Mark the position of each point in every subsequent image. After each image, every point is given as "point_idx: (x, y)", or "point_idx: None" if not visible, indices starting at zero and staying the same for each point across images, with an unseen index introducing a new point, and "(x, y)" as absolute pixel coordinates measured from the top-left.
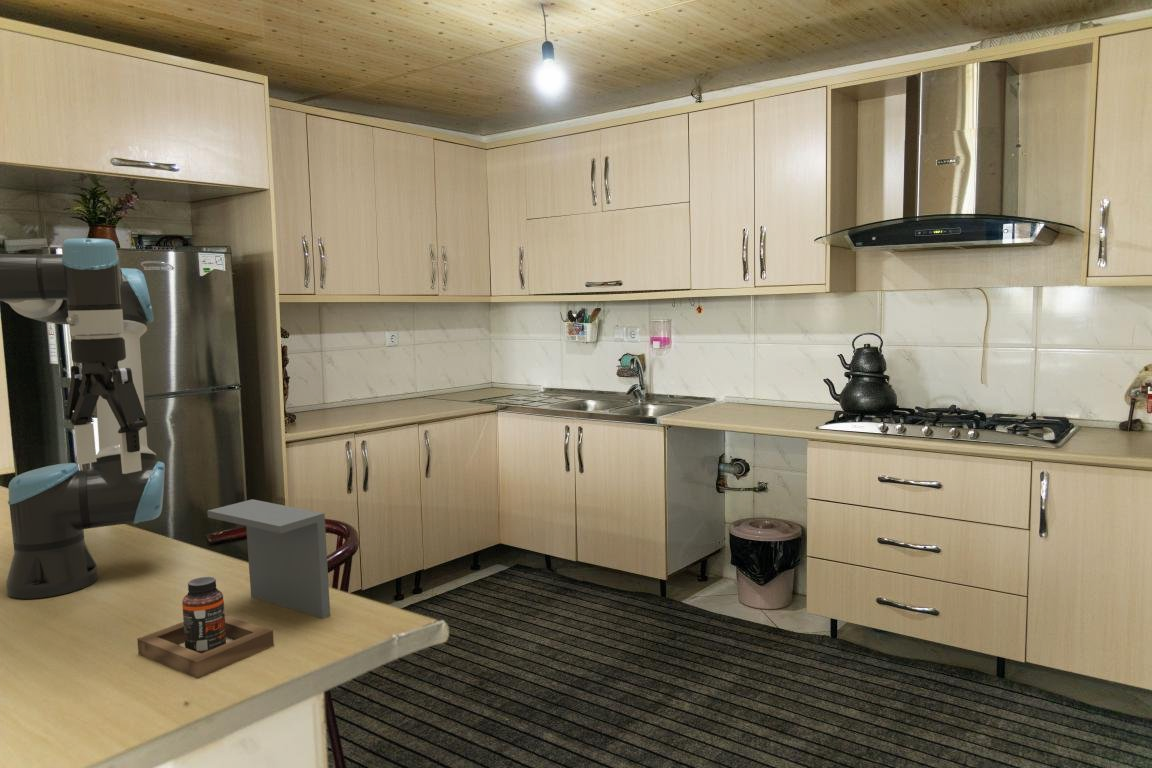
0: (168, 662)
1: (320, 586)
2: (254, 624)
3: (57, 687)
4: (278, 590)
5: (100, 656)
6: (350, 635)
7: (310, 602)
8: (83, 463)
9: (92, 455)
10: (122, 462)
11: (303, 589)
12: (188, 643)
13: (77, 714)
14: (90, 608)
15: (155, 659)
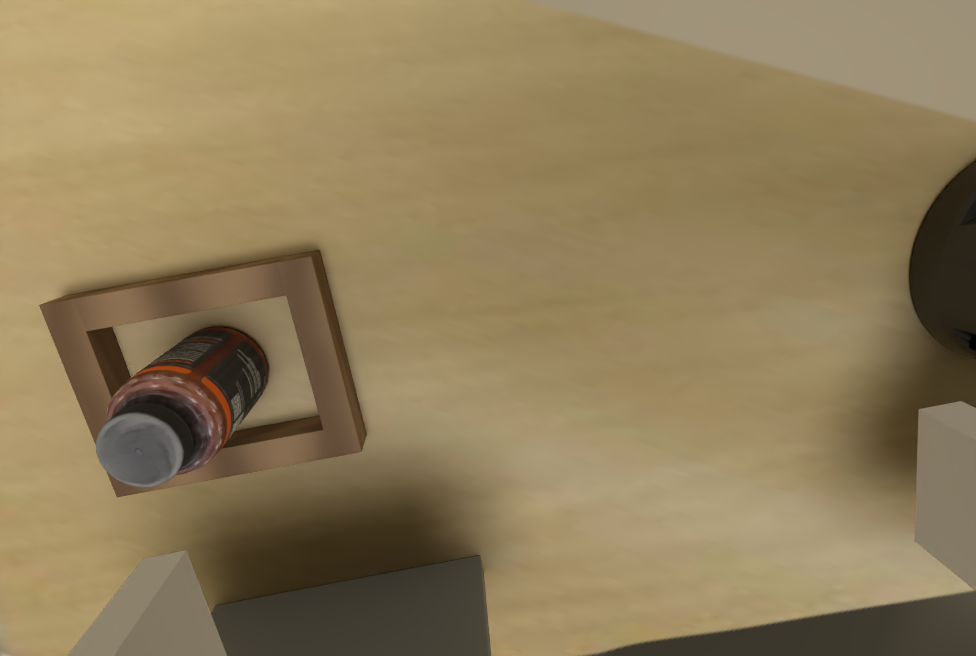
0: (182, 275)
1: None
2: (189, 483)
3: (253, 41)
4: (366, 603)
5: (377, 180)
6: (74, 603)
7: (246, 620)
8: (924, 442)
9: (968, 555)
10: (107, 634)
11: (261, 639)
12: (193, 336)
13: (48, 27)
14: (742, 266)
15: (242, 264)
